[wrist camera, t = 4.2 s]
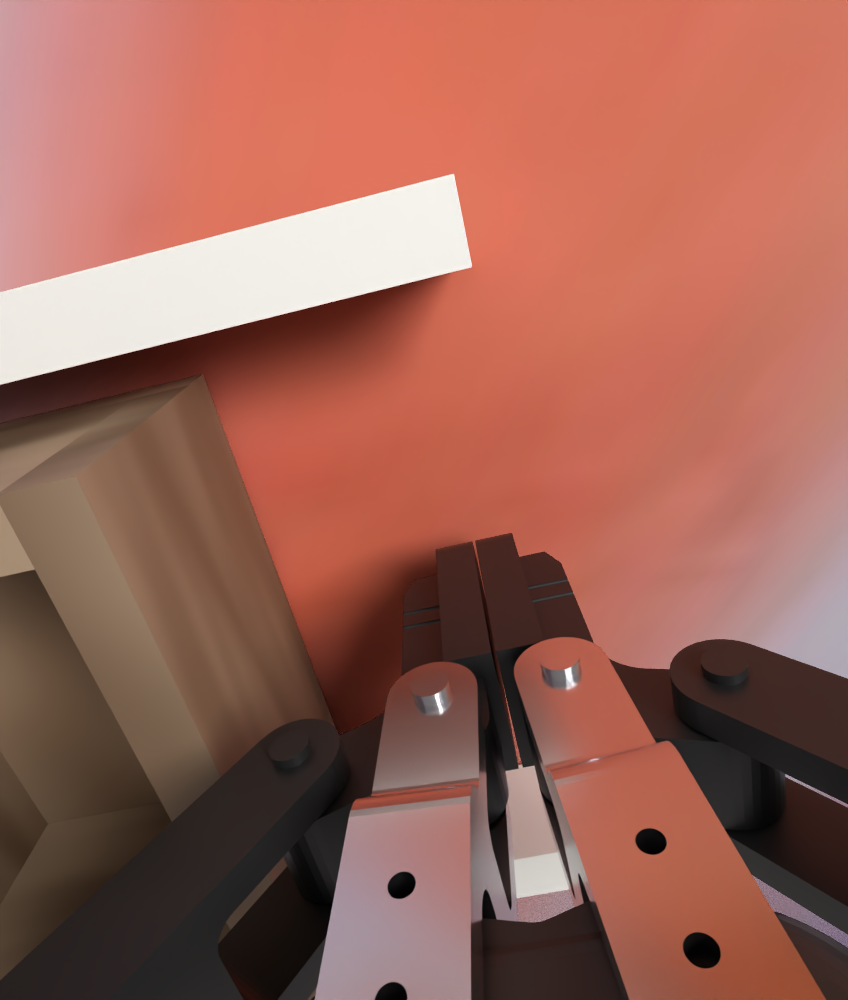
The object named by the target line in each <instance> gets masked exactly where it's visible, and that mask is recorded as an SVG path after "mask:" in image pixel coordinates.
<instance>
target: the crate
mask: <svg viewBox="0 0 848 1000" xmlns="http://www.w3.org/2000/svg"><path fill="white" fill-rule="evenodd" d="M301 719H321V720H324V721H327V722H328V723H330V724H332V725H333V726H334V727H335V725H334V722H333V720H332V717H331V714H330V712H329V709H328V706H327V704H326V701H325V698H324V696H323V693H322V690H321V688H320V685H319V682H318V680H317V677H316V674H315V672H314V669H313V666H312V664H311V661H310V658H309V656H308V653H307V650H306V648H305V645H304V642H303V640H302V637H301V634H300V632H299V629H298V626H297V624H296V621H295V618H294V616H293V613H292V610H291V608H290V605H289V602H288V600H287V597H286V594H285V592H284V589H283V586H282V584H281V581H280V578H279V576H278V573H277V570H276V568H275V565H274V562H273V560H272V557H271V554H270V552H269V549H268V546H267V544H266V541H265V538H264V536H263V533H262V530H261V528H260V525H259V522H258V520H257V517H256V514H255V512H254V509H253V506H252V504H251V501H250V498H249V496H248V493H247V490H246V488H245V485H244V482H243V480H242V477H241V474H240V472H239V469H238V466H237V464H236V461H235V458H234V456H233V453H232V450H231V448H230V445H229V442H228V440H227V437H226V434H225V432H224V429H223V426H222V424H221V421H220V418H219V416H218V413H217V410H216V408H215V405H214V402H213V400H212V397H211V394H210V392H209V389H208V386H207V384H206V381H205V378H204V376H203V374H201V375H197V376H193V377H189V378H184V379H180V380H176V381H172V382H168V383H164V384H160V385H156V386H152V387H148V388H144V389H139V390H135V391H131V392H127V393H123V394H119V395H115V396H111V397H107V398H103V399H98V400H94V401H90V402H86V403H82V404H78V405H74V406H70V407H66V408H62V409H57V410H53V411H49V412H45V413H41V414H37V415H33V416H29V417H25V418H21V419H17V420H12V421H8V422H4V423H0V980H1V979H2V978H3V977H4V976H5V975H6V974H7V973H9V972H10V971H11V970H12V969H13V968H14V967H15V966H16V965H17V964H18V963H19V962H21V961H22V960H23V959H24V958H25V957H26V956H27V955H28V954H29V953H30V952H31V951H32V950H34V949H35V948H36V947H37V946H38V945H39V944H40V943H41V942H42V941H43V940H44V939H45V938H47V937H48V936H49V935H50V934H51V933H52V932H53V931H54V930H55V929H56V928H57V927H59V926H60V925H61V924H62V923H63V922H64V921H65V920H66V919H67V918H68V917H69V916H70V915H72V914H73V913H74V912H75V911H76V910H77V909H78V908H79V907H80V906H81V905H82V904H83V903H85V902H86V901H87V900H88V899H89V898H90V897H91V896H92V895H93V894H94V893H95V892H97V891H98V890H99V889H100V888H101V887H102V886H103V885H104V884H105V883H106V882H107V881H108V880H110V879H111V878H112V877H113V876H114V875H115V874H116V873H117V872H118V871H119V870H120V869H121V868H123V867H124V866H125V865H126V864H127V863H128V862H129V861H130V860H131V859H132V858H133V857H135V856H136V855H137V854H138V853H139V852H140V851H141V850H142V849H143V848H144V847H145V846H146V845H148V844H149V843H150V842H151V841H152V840H153V839H154V838H155V837H156V836H157V835H158V834H159V833H161V832H162V831H163V830H164V829H165V828H166V827H167V826H168V825H169V824H170V823H171V822H172V821H174V820H175V819H176V818H177V817H178V816H179V815H180V814H181V813H182V812H183V811H184V810H186V809H187V808H188V807H189V806H190V805H191V804H192V803H193V802H194V801H195V800H196V799H197V798H199V797H200V796H201V795H202V794H203V793H204V792H205V791H206V790H207V789H208V788H209V787H210V786H212V785H213V784H214V783H215V782H216V781H217V780H218V779H219V778H220V777H221V776H222V775H224V774H225V773H226V772H227V771H228V770H229V769H230V768H231V767H232V766H233V765H234V764H235V763H237V762H238V761H239V760H240V759H241V758H242V757H243V756H244V755H245V754H246V753H247V752H248V751H250V750H251V749H252V748H253V747H254V746H255V745H256V744H257V743H258V742H259V741H260V740H262V739H263V738H264V737H265V736H266V735H268V734H269V733H270V732H272V731H273V730H275V729H277V728H279V727H280V726H282V725H285V724H287V723H290V722H293V721H296V720H301ZM286 867H287V864H286V862H285V859H284V857H283V858H282V859H281V860H280V861H279V862H278V863H277V864H276V865H275V867H274V868H273V869H272V870H271V871H270V872H269V873H268V874H267V875H266V877H265V878H264V879H263V880H262V881H261V882H260V883H259V884H258V885H257V887H256V888H255V889H254V890H253V891H252V892H251V893H250V894H249V895H248V897H247V898H246V899H245V900H244V901H243V902H242V903H241V904H240V905H239V907H238V908H237V909H236V910H235V911H234V912H233V913H232V915H231V916H230V917H229V919H228V920H227V922H226V923H225V925H224V927H223V929H222V932H221V934H220V938H219V942H218V944H219V943H220V941H221V940H222V939H223V938H224V937H225V936H226V935H227V934H228V932H229V931H230V930H231V929H232V928H233V927H234V926H235V924H236V923H237V922H238V921H239V920H240V919H241V918H242V917H243V915H244V914H245V913H246V912H247V911H248V910H249V909H250V908H251V906H252V905H253V904H254V903H255V902H256V901H257V900H258V899H259V897H260V896H261V895H262V894H263V893H264V892H265V891H266V890H267V888H268V887H269V886H270V885H271V884H272V883H273V882H274V880H275V879H276V878H277V877H278V876H279V875H280V874H281V873H282V871H283V870H284V869H285V868H286ZM316 990H317V987H316V989H315V990H314V991H313V993H312V994H311V995H310V997H309V998H308V999H307V1000H311V999H312V998H313V997H314V996H315V995H316Z"/></svg>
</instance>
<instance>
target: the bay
mask: <svg viewBox="0 0 848 1000" xmlns="http://www.w3.org/2000/svg"><path fill="white" fill-rule="evenodd" d="M471 267H472V264H471V259H470V254H469V249H468V244H467V239H466V234H465V228H464V223H463V218H462V213H461V208H460V203H459V198H458V193H457V188H456V183H455V178H454V174H451V175H447V176H443V177H439V178H435V179H432V180H428V181H424V182H420V183H416V184H412V185H409V186H405V187H401V188H397V189H393V190H390V191H386V192H382V193H378V194H374V195H370V196H367V197H363V198H359V199H355V200H351V201H347V202H344V203H340V204H336V205H332V206H328V207H325V208H321V209H317V210H313V211H309V212H305V213H302V214H298V215H294V216H290V217H286V218H282V219H279V220H275V221H271V222H267V223H263V224H260V225H256V226H252V227H248V228H244V229H240V230H237V231H233V232H229V233H225V234H221V235H217V236H214V237H210V238H206V239H202V240H198V241H194V242H191V243H187V244H183V245H179V246H175V247H172V248H168V249H164V250H160V251H156V252H152V253H149V254H145V255H141V256H137V257H133V258H129V259H126V260H122V261H118V262H114V263H110V264H107V265H103V266H99V267H95V268H91V269H87V270H84V271H80V272H76V273H72V274H68V275H64V276H61V277H57V278H53V279H49V280H45V281H42V282H38V283H34V284H30V285H26V286H22V287H19V288H15V289H11V290H7V291H3V292H0V385H1V384H5V383H9V382H13V381H17V380H21V379H25V378H29V377H33V376H37V375H41V374H45V373H49V372H53V371H57V370H61V369H65V368H69V367H73V366H77V365H81V364H85V363H89V362H93V361H97V360H101V359H105V358H109V357H113V356H117V355H121V354H125V353H129V352H133V351H137V350H141V349H145V348H150V347H154V346H158V345H162V344H166V343H170V342H174V341H178V340H182V339H186V338H190V337H194V336H198V335H202V334H206V333H210V332H214V331H218V330H222V329H226V328H230V327H234V326H238V325H242V324H246V323H250V322H254V321H258V320H262V319H266V318H270V317H274V316H278V315H282V314H286V313H290V312H294V311H298V310H302V309H306V308H310V307H314V306H318V305H322V304H326V303H330V302H334V301H338V300H342V299H346V298H350V297H354V296H358V295H362V294H366V293H370V292H374V291H378V290H382V289H386V288H390V287H394V286H398V285H402V284H406V283H410V282H414V281H418V280H422V279H426V278H430V277H434V276H438V275H442V274H446V273H450V272H454V271H458V270H462V269H467V268H471ZM518 767H519V769H515V770H509V771H506V777H507V783H508V790H509V797H508V806H509V810H510V815H511V826H512V841H513V855H514V869H515V884H516V898H522V897H528V896H534V895H540V894H545V893H551V892H557V891H563V890H569V887H568V884H567V881H566V878H565V875H564V871H563V868H562V865H561V862H560V859H559V855H558V852H557V849H556V846H555V842H554V839H553V836H552V833H551V830H550V826H549V823H548V820H547V817H546V814H545V810H544V806H543V801H542V797H541V792H540V788H539V784H538V779H537V775H536V770H535V766H529V767H524V768H523V766H522V764H521V765H518Z"/></svg>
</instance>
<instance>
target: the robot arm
mask: <svg viewBox="0 0 848 1000" xmlns="http://www.w3.org/2000/svg"><path fill="white" fill-rule="evenodd" d="M475 542H476V547H477V553H478V558H479V564H480V569H481V575H482V580H483V585H484V589H483V585H482V580H481V576H480V572H479V568H478V563H477V559H476V555H475V550H474V546H473V543H472V542H467V543H463V544H458V545H454V546H449V547H444V548H440V549H436V560H437V575H433V576H428V577H424V578H419V579H414V581H413V583H412V584H411V586H410V587H409V589H408V590H407V592H406V593H405V595H404V602H403V614H404V616H403V643H402V676H401V677H400V678H399V679H398V680H397V681H396V682H395V683H394V685H393V686H392V687H391V689H390V691H389V693H388V696H387V701H386V707H385V711H384V712H383V713H382V714H380V715H379V716H378V717H376V718H375V719H373V720H372V721H370V722H368V723H366V724H364V725H362V726H359V727H357V728H355V729H353V730H351V731H348V732H346V733H344V734H342V735H340V736H339V734H338V732H337V730H336V728H335V727H334V726H333V725H332V724H330V723H328V722H327V721H324V720H321V719H301V720H296V721H293V722H290V723H287V724H285V725H282V726H280V727H279V728H277V729H275V730H273V731H272V732H270V733H269V734H268V735H266V736H265V737H264V738H263V739H262V740H260V741H259V742H258V743H257V744H256V745H255V746H254V747H253V748H252V749H251V750H250V751H248V752H247V753H246V754H245V755H244V756H243V757H242V758H241V759H240V760H239V761H238V762H237V763H235V764H234V765H233V766H232V767H231V768H230V769H229V770H228V771H227V772H226V773H225V774H224V775H222V776H221V777H220V778H219V779H218V780H217V781H216V782H215V783H214V784H213V785H212V786H210V787H209V788H208V789H207V790H206V791H205V792H204V793H203V794H202V795H201V796H200V797H199V798H197V799H196V800H195V801H194V802H193V803H192V804H191V805H190V806H189V807H188V808H187V809H186V810H184V811H183V812H182V813H181V814H180V815H179V816H178V817H177V818H176V819H175V820H174V821H172V822H171V823H170V824H169V825H168V826H167V827H166V828H165V829H164V830H163V831H162V832H161V833H159V834H158V835H157V836H156V837H155V838H154V839H153V840H152V841H151V842H150V843H149V844H148V845H146V846H145V847H144V848H143V849H142V850H141V851H140V852H139V853H138V854H137V855H136V856H135V857H133V858H132V859H131V860H130V861H129V862H128V863H127V864H126V865H125V866H124V867H123V868H121V869H120V870H119V871H118V872H117V873H116V874H115V875H114V876H113V877H112V878H111V879H110V880H108V881H107V882H106V883H105V884H104V885H103V886H102V887H101V888H100V889H99V890H98V891H97V892H95V893H94V894H93V895H92V896H91V897H90V898H89V899H88V900H87V901H86V902H85V903H83V904H82V905H81V906H80V907H79V908H78V909H77V910H76V911H75V912H74V913H73V914H72V915H70V916H69V917H68V918H67V919H66V920H65V921H64V922H63V923H62V924H61V925H60V926H59V927H57V928H56V929H55V930H54V931H53V932H52V933H51V934H50V935H49V936H48V937H47V938H45V939H44V940H43V941H42V942H41V943H40V944H39V945H38V946H37V947H36V948H35V949H34V950H32V951H31V952H30V953H29V954H28V955H27V956H26V957H25V958H24V959H23V960H22V961H21V962H19V963H18V964H17V965H16V966H15V967H14V968H13V969H12V970H11V971H10V972H9V973H7V974H6V975H5V976H4V977H3V978H2V979H1V980H0V1000H307V999H308V998H309V997H310V995H311V994H312V993H313V991H314V990H315V989H316V987H317V990H316V995H315V996H314V997H313V998H312V999H311V1000H848V948H847V947H845V946H844V945H842V944H841V943H839V942H837V941H836V940H834V939H833V938H831V937H829V936H827V935H826V934H824V933H822V932H820V931H818V930H816V929H814V928H813V927H811V926H809V925H807V924H805V923H802V922H800V921H798V920H795V919H793V918H791V917H788V916H786V915H784V914H781V913H778V912H774V911H773V910H772V908H771V906H770V905H769V903H768V901H767V900H766V898H765V896H764V895H763V893H762V891H761V890H760V888H759V886H758V885H757V883H756V881H755V879H754V878H753V876H755V877H756V878H758V879H760V880H761V881H763V882H764V883H766V884H768V885H769V886H771V887H772V888H774V889H776V890H777V891H779V892H780V893H782V894H784V895H785V896H787V897H788V898H790V899H792V900H793V901H795V902H796V903H798V904H800V905H801V906H803V907H805V908H806V909H808V910H809V911H811V912H813V913H814V914H816V915H817V916H819V917H821V918H822V919H824V920H825V921H827V922H829V923H830V924H832V925H833V926H835V927H837V928H838V929H840V930H841V931H843V932H845V933H846V934H848V808H847V807H845V806H843V805H841V804H839V803H837V802H835V801H833V800H831V799H829V798H827V797H825V796H823V795H821V794H819V793H817V792H814V791H812V790H810V789H808V788H806V787H804V786H802V785H800V784H798V783H796V782H794V781H792V780H790V779H788V778H786V777H785V774H787V775H789V776H791V777H793V778H795V779H797V780H799V781H801V782H803V783H806V784H808V785H810V786H812V787H814V788H816V789H818V790H820V791H822V792H824V793H826V794H828V795H830V796H832V797H834V798H836V799H838V800H840V801H843V802H845V803H847V804H848V679H847V678H844V677H841V676H838V675H836V674H833V673H830V672H827V671H824V670H822V669H819V668H816V667H813V666H810V665H807V664H805V663H802V662H799V661H796V660H793V659H791V658H788V657H785V656H782V655H779V654H777V653H774V652H771V651H768V650H765V649H763V648H760V647H757V646H754V645H751V644H748V643H745V642H740V641H735V640H726V639H715V640H706V641H702V642H697V643H695V644H692V645H690V646H688V647H686V648H684V649H682V650H681V651H680V652H679V653H678V654H677V655H676V656H675V657H674V658H673V660H672V662H671V665H670V669H644V668H635V667H629V666H626V665H622V664H619V663H617V662H615V661H612V660H611V659H609V658H608V657H607V655H606V654H605V652H604V651H603V650H602V649H601V648H600V647H599V646H597V645H596V644H594V642H593V640H592V637H591V635H590V632H589V630H588V628H587V625H586V623H585V620H584V618H583V615H582V613H581V611H580V608H579V606H578V603H577V601H576V598H575V596H574V595H573V591H572V589H571V586H570V584H569V582H568V579H567V577H566V574H565V572H564V569H563V567H562V564H561V563H560V562H559V561H557V560H556V559H554V558H553V557H552V556H550V555H549V554H547V553H546V552H540V553H536V554H531V555H526V556H522V557H519V555H518V552H517V549H516V545H515V542H514V539H513V535H512V533H509V534H504V535H499V536H495V537H490V538H485V539H481V540H476V541H475ZM484 591H485V593H484ZM485 596H486V598H485ZM503 685H504V687H503ZM504 689H505V692H504ZM505 693H506V697H505ZM506 698H507V702H508V706H509V710H510V715H511V719H512V723H513V727H514V732H515V736H516V740H517V744H518V749H519V753H520V757H521V761H522V766H523V768H524V767H529V766H535V770H536V775H537V779H538V784H539V788H540V792H541V797H542V801H543V806H544V810H545V814H546V817H547V820H548V823H549V826H550V830H551V833H552V836H553V839H554V842H555V846H556V849H557V852H558V855H559V859H560V862H561V865H562V868H563V871H564V875H565V878H566V881H567V884H568V887H569V891H570V894H571V897H572V900H573V903H574V908H572V909H570V910H568V911H565V912H563V913H561V914H559V915H557V916H554V917H552V918H550V919H548V920H545V921H542V922H536V923H529V922H518V912H517V898H516V884H515V869H514V855H513V841H512V826H511V815H510V810H509V806H508V797H509V790H508V783H507V777H506V771H509V770H515V769H519V767H518V761H517V756H516V751H515V745H514V740H513V735H512V729H511V724H510V719H509V713H508V708H507V703H506ZM283 857H284V859H285V862H286V864H287V867H286V868H285V869H284V870H283V871H282V873H281V874H280V875H279V876H278V877H277V878H276V879H275V880H274V882H273V883H272V884H271V885H270V886H269V887H268V888H267V890H266V891H265V892H264V893H263V894H262V895H261V896H260V897H259V899H258V900H257V901H256V902H255V903H254V904H253V905H252V906H251V908H250V909H249V910H248V911H247V912H246V913H245V914H244V915H243V917H242V918H241V919H240V920H239V921H238V922H237V923H236V924H235V926H234V927H233V928H232V929H231V930H230V931H229V932H228V934H227V935H226V936H225V937H224V938H223V939H222V940H221V941H220V943H219V944H218V942H219V938H220V934H221V932H222V929H223V927H224V925H225V923H226V922H227V920H228V919H229V917H230V916H231V915H232V913H233V912H234V911H235V910H236V909H237V908H238V907H239V905H240V904H241V903H242V902H243V901H244V900H245V899H246V898H247V897H248V895H249V894H250V893H251V892H252V891H253V890H254V889H255V888H256V887H257V885H258V884H259V883H260V882H261V881H262V880H263V879H264V878H265V877H266V875H267V874H268V873H269V872H270V871H271V870H272V869H273V868H274V867H275V865H276V864H277V863H278V862H279V861H280V860H281V859H282V858H283ZM752 875H753V876H752Z"/></svg>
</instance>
